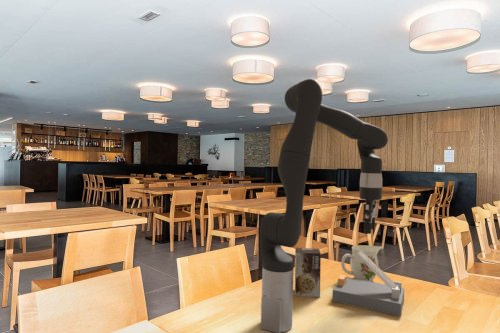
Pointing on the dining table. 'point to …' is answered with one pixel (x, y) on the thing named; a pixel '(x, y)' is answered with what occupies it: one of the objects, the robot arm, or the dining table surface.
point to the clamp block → (370, 296)
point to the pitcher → (361, 262)
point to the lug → (342, 280)
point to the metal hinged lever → (377, 271)
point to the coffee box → (307, 272)
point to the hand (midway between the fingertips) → (369, 231)
